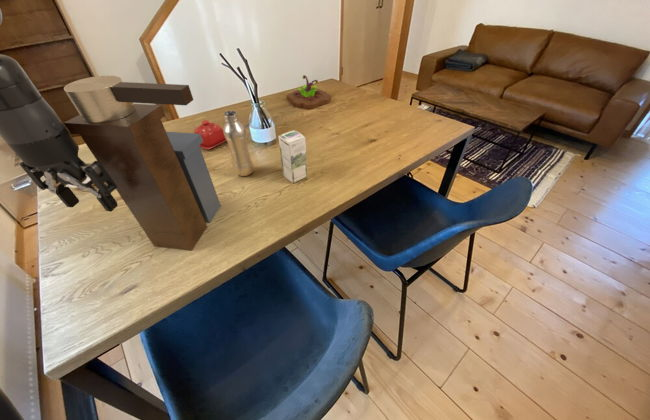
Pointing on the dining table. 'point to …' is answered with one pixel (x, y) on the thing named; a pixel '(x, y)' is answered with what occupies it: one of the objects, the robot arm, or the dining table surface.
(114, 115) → the milk pan
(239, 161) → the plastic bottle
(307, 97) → the plant
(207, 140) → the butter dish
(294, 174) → the syrup box
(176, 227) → the tall stand
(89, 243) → the dining table surface
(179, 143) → the blue-grey block
